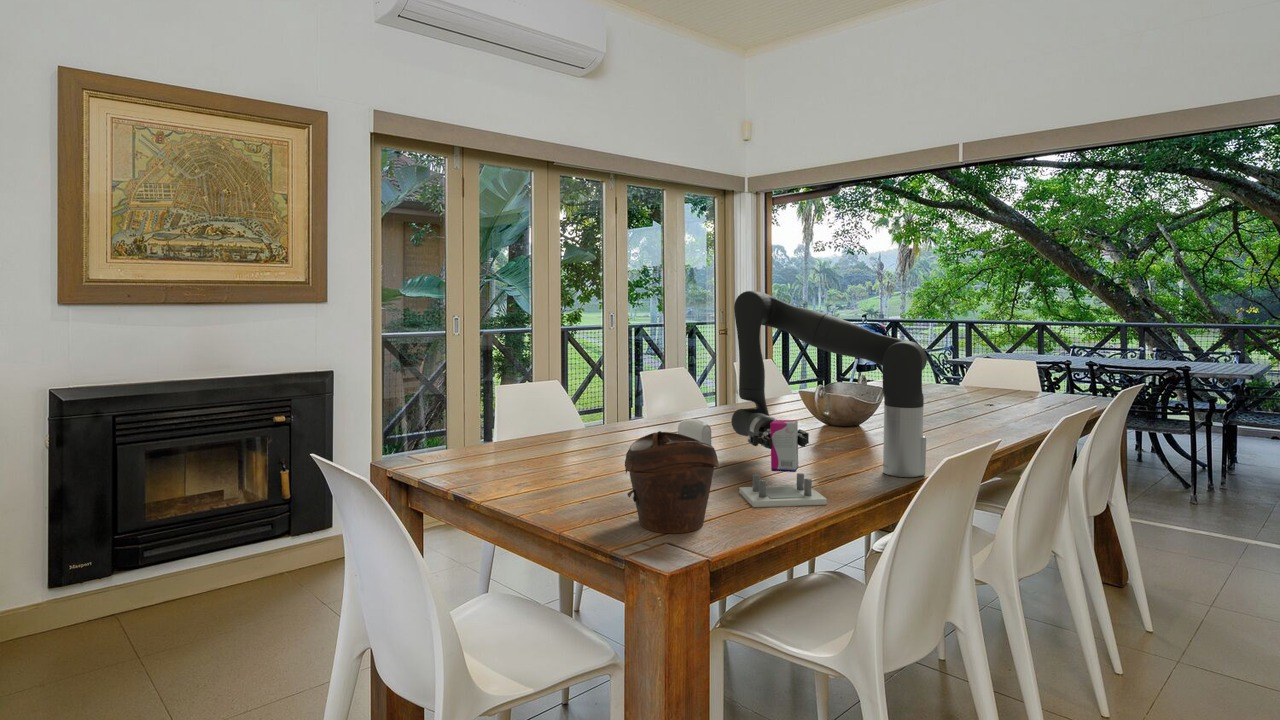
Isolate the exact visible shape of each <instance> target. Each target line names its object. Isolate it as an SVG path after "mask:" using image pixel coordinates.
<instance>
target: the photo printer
mask: <svg viewBox="0 0 1280 720" xmlns="http://www.w3.org/2000/svg"><path fill="white" fill-rule="evenodd" d="M677 434H682V435H685V436H688V437H691V438H694V439H696V440H699V441H701V442H703V443H706V444H708V445H711V446H712V429H711V425H709V424H708V423H707V422H705V421H703V420H701V419H695V418H689V419H688V418H687V419H684V420H681V421H679V423H678V427H677Z"/></svg>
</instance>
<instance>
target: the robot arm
mask: <svg viewBox="0 0 1280 720" xmlns="http://www.w3.org/2000/svg"><path fill="white" fill-rule="evenodd" d="M733 310H734V319H735V326H736V333H737V343H738V344H737V345H738V357H739V358H738V359H739V361H738V363H739V374H738V375H739V376H738V378H739V379H738V395H739V399H742V400H744V401H749V402H752V403H754V405H755V408H739V409H737V410H735V411H734V412H733V414H732V416H731V421H730V422H731V426H732V429H733V431H734V432H735V433H736V434H738V435H739V436H744V437H747V442H748V443H749V444H751V445H752V446H754V447H758V446H759V445H760V446H761V447H764V448H766V449H769V450H771V448H772V439H771V428H770V424H771V422H773V421H774V420H778V419H776V418H774V417H772V416H771V415H770V412H769V410H768V406H767V401H766V393H765V388H766V387H765V385H766V383H765V381H766V380H765V379H766V373H765V372H766V370H765V363H764V359H763V354H762V349H761V327H762V326H766V327H770V328H773V329H776V330H777V329H778V330H781V331H783V332H786V333H788V334H790V335H792V336H793V337H795V338H797V339H798V340H799V341H801V342H803V343H805V344H807V345H809V346H811V347H814V348H817V349H818V350H822V351H826V352H828V353H832V354H835V355H836V354H837V355H841V356H844V357H845V356H846V357H850V358H851V357H852V358H855V359H856V358H858V359H863V360H866V361H869V362H872V363H874V364H877V365H879V366H882V396H883V397H884V400H883V402H884V408H883V412H884V413H883V450H882V451H883V454H882V455H883V456H882V457H883V458H882V459H883V460H882V472H883V474H886V475H889V476H892V477H899V478H917V477H921V476H926V469H927V468H926V465H927V464H926V463H927V462H926V461H927V459H926V458H927V457H926V456H927V437H926V436H924V406H925V405H924V403H925V402H924V401H925V399H924V398H925V397H924V393H923V380H922V379H923V370H924V369H925V367H926V366H927V362H928V357H927V353H926V351H925V350H924V348H923V347H922V346H921V345H920V344H918V343H917V342H914V341H910V340H906V339H901V338H896V337H891V336H887V335H883V334H879V333H877V332H874V331H872V330H869V329H867V328H865V327H863V326H860V325H857V324H856V323H853V322H851V321H848V320H846V319H842V318H840V317H837V316H834V315H831V314H828V313H825V312H821V311H818V310H815V309H809V308H805V307H798V306H795V305H792V304H790V303H787V302H785V301H782V300H780V299H778V298H775V297H774V296H771V295H769V294H768V293H765V292H763V291H757V290H745V291H744V292H741V293H740V294H739V295H737V297H736V299H735V301H734V306H733ZM809 435H810V434H809V432H807V431H805V430H803V429H800V428H798V447H801V448H806V446H807V445H808V444H810V442H809Z"/></svg>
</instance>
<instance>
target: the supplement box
mask: <svg viewBox="0 0 1280 720" xmlns="http://www.w3.org/2000/svg"><path fill="white" fill-rule="evenodd" d="M798 426H799V425H798V420H797V419H777V420H774V421H773V422H771V424H770V428H771V439H772V448H771V449H770V469H771V470H770V471H771V472H785V473H796V472H797V470H798V469H799V445H798V430H799V427H798Z"/></svg>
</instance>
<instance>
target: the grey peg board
mask: <svg viewBox="0 0 1280 720" xmlns="http://www.w3.org/2000/svg"><path fill="white" fill-rule="evenodd" d="M812 481H813V480H812V478H807V477H806V478H805V473H800V472H797V473H796V485H772V486H771V485H770V486H767V480H765V479H761V475H760V474H752V486H742V487H741V486H740V487H739V494H740V495H741V496H742V497H743V499H745V500H746V502H747V503H748V504H750V505H751V507H752V508H762V507H763V508H765V507H770V508H771V507H793V506H795V507H796V506H819V505H820V506H823V505H824V506H825V505H827V502H828V499H827V498H826V497H825V496H823V495H822V494H821V493H820V492H818V491H816V489H814V488H812V486H813V485H812V484H813V482H812Z"/></svg>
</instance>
